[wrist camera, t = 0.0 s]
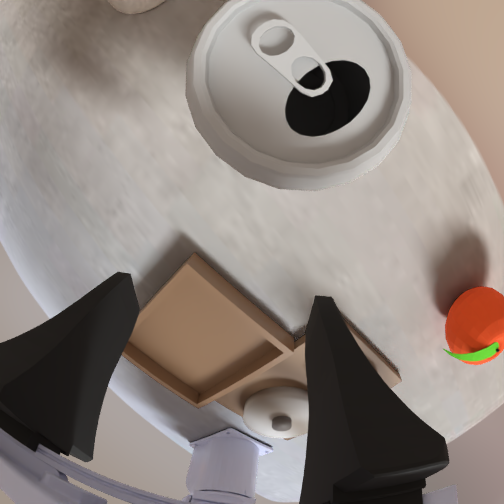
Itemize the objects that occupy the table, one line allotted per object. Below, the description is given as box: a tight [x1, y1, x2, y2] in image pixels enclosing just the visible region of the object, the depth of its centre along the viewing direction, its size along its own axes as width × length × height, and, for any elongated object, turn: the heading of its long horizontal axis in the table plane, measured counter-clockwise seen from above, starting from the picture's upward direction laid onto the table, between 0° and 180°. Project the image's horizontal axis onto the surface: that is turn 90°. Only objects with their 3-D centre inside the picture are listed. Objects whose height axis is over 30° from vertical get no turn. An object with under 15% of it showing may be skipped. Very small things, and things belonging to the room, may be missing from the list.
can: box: [186, 0, 411, 191], centre depth 12 cm, size 8×8×12 cm
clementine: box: [444, 286, 504, 365], centre depth 18 cm, size 8×7×7 cm
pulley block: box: [215, 320, 402, 440], centre depth 25 cm, size 16×12×3 cm
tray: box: [122, 252, 294, 409], centre depth 24 cm, size 13×11×2 cm
